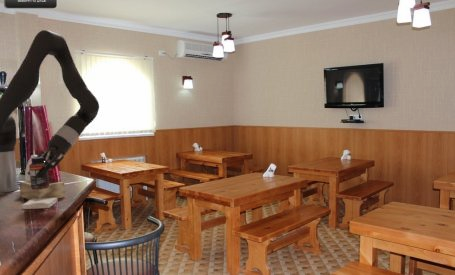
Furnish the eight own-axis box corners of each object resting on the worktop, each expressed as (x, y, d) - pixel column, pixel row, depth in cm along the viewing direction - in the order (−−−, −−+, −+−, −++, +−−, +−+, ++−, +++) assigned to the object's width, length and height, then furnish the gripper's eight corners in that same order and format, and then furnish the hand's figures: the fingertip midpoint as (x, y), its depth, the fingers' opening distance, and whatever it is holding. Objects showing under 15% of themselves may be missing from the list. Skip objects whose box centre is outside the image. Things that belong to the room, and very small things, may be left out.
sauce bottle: (31, 193, 157) (28, 150, 155) (23, 191, 162) (20, 149, 160) (50, 190, 163) (47, 148, 162) (41, 187, 168) (38, 147, 166)
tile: (22, 209, 132) (22, 204, 132) (32, 202, 141) (32, 198, 141) (49, 207, 134) (48, 203, 133) (57, 201, 142) (57, 197, 142)
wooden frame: (39, 202, 142) (38, 186, 141) (20, 196, 152) (19, 182, 151) (65, 196, 150) (64, 181, 149) (45, 191, 160) (44, 177, 159)
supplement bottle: (44, 185, 141) (42, 155, 140) (52, 187, 137) (49, 156, 136) (28, 189, 137) (25, 158, 136) (35, 190, 133) (32, 159, 132)
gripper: (46, 133, 146) (16, 168, 137) (66, 134, 137) (35, 171, 128) (61, 145, 150) (33, 180, 142) (80, 147, 141) (51, 184, 133)
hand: (34, 176), depth 135 cm, fingers closed on supplement bottle, 6 cm apart
